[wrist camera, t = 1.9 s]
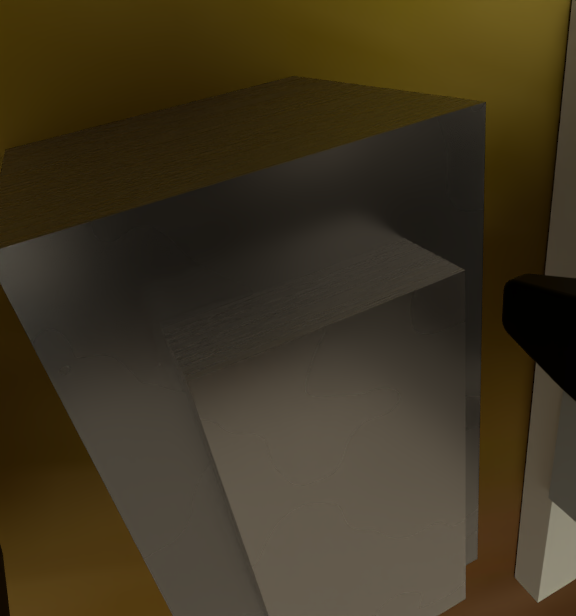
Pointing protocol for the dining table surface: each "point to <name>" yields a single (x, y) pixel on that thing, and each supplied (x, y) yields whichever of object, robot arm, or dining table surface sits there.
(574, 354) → the robot arm
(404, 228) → the block
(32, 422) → the dining table surface
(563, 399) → the chassis
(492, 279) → the dining table surface
